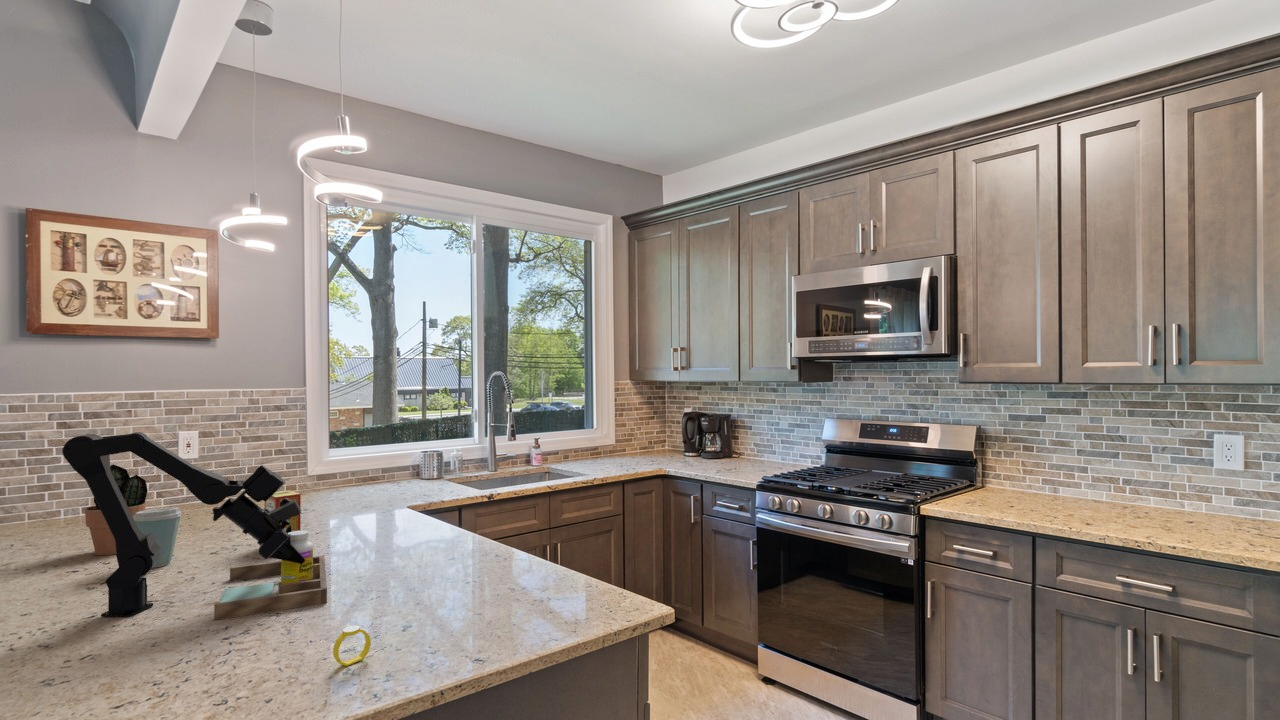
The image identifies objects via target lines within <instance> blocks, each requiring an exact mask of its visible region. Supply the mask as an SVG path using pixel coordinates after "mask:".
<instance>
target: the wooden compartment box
mask: <svg viewBox="0 0 1280 720" xmlns="http://www.w3.org/2000/svg"><path fill="white" fill-rule="evenodd" d="M325 561H326V560H325V555H316V556H313V578H317V579H313V580H309V581H302V582H295V583H288V584H281V583H280V584H278V591H277V592H278V594H273V592H274V587H275V582H267V583H260V584H253V585H252V584H251V585H245V586H237V587H230V588H225V589H224V590H223V593H222V595H221V598H220V601H219V602H217V603H214V605H213V607H214V609H213V611H214V612H213V616H214V617H213V619H214V621H218V620H224V619H231V618H237V617H242V616H243V617H244V616H250V615H255V614H263V613H267V612H268V613H269V612H276V611H282V610H287V609H294V608H300V607H308V606H314V605H320V604H327V603H328V585H327V574H326V572H327V570H326V562H325ZM275 575H281V560H275V561H270V562H269V561H268V562H261V563H254V564H253V563H252V564H246V565H245V564H244V565H237V566H230V567H229V581H238V580H246V579H252V578H260V577H268V576H275Z"/></svg>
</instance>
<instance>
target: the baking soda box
mask: <svg viewBox="0 0 1280 720" xmlns="http://www.w3.org/2000/svg"><path fill="white" fill-rule="evenodd" d="M285 498H288V499H289V500H291V501H292V500H293V499H295V500H296V502H297V504H298V505H299V507H300V509H301V507H302V506H301V505H302V504H301V501H302V500H301V498H302V497H301V493H299V492H295V491H293V490H289V489H288V490H287V489H286V490H281V491H276V492H275V493H274V494H273V495H272V496H271V497H270V498H269V499H268V500H267V501H264V508H265V509H266V508H267V509H268V510H270V511H272V510H274V509H276V508H277V507H280V501H281V500H283V499H285ZM288 520H289V521H290V524H289V525H286V526H285V527H284V528H285V529H287V528H288V527H289V526H290V525H292V532H293V531H301V513H300V514H299V515H297V516H295V517H292V518H290V519H288Z"/></svg>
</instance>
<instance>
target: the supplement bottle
mask: <svg viewBox="0 0 1280 720" xmlns="http://www.w3.org/2000/svg"><path fill="white" fill-rule="evenodd" d="M288 534H291V544H292V545H293V546H294V547H295V549H296V550H297V551H298V552H299V553H300V554H301V555H302V556H303V558H304V559H305V562H304V563H303V564H300V563H295V562H290V561H285V560H280V561H281V574H280V585H281V584H288V583H295V582H302V581H309V580H314V577H313V557H314V545H313V543H312V542H311V541H308V538H309V534H310V533H309V531H308V530H301V529H300V531H293V532H289V533H288Z"/></svg>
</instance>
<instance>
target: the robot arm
mask: <svg viewBox="0 0 1280 720" xmlns="http://www.w3.org/2000/svg"><path fill="white" fill-rule="evenodd" d="M123 453H132V454H134V455H136V456H137V457H139V458H140V459H142V460H144V461H146V462H147V463H149V464H150V465H153V466H154V467H155V468H157V469H159V470H160V471H162V472H164V473H165V474H167V475H169V476H171V477H173V478H174V479H176V480H178V481H179V482H180V483H182V484H183V485H184V487H186V489H187V490H188V491H189V492H190V493H191V494H192V495H194V497H195V498H196V499H198V501H200V502H201V503H203V504H205V505H207V506H208V505H209V506H213V505H217V504H220V503H222V502H223V501H225V500H226V498H228V499H227V500H226V501H225V502H223V503H222V505H220V506H214V507H213V508H212V514H213V518H212V521H213V522H217V521H218V520H219V519H220V518H221V517H223V516H224V517H226V518H227V519H228V520H230V521H231V522H232V523H233V524H235V525H236V526H237V527H239V528H240V529H241V530H242V533H243V534H245V535H247V534H248V535H249V536H250V537H252V538H253V539H254V540H256V541H257V544H258V545H259V546H258V547H259V548H258V551H259V552H258V555H260V556H261V557H262V558H263V559H264V560H267V559H275V560H276V559H277V560H279V561H281V560H285V561H290V562H295V563H300V564H303V563H304V562H305V559H304V558H303V556H302V555H301V554H300V553H299V552H298V551H297V550H296V549H295V547H294V546H293V545H292V544H291V534H288V533H289V532H292V525H290V526H289V527H288V528H287V529H285V528H284V527H285V526H286V525H289V524H290V521H289V520H288V519H290V518H292V517H295V516H297V515H299V514H300V515H301V514H302V509H301V508H300V507H299V505H298V504H297V502H296V500H295V499H293V500H292V501H291V500H289V499H288V498H285V499H283V500H281V501H280V507H277V508H276V509H274V510H272V511H270V510H268V509H267V508H266V509H265V507H264V508H262V507H261V506H259V505H258V504H257V503H259V502H262V501H263V502H265V501H267V500H268V499H269V498H270V497H271V496H272V495H273V494H274V493H275V492H278V490H280V489H281V488H282V487H283V486H284V485H285V484H286V481H285V480H284V478H282V477H281V476H280V475H279V474H277V472H275V471H272V470H271V469H269V468H267V467H266V466H264V465H263V464H260V465H259V466H258V467H257V468H255V471H254V472H253V473H252V474H250V476H249V477H248V478H247V479H245V480H229V479H228V478H227V477H225V476H223V475H220V474H218V473H216V472H213V471H210V470H207V469H204V468H201V467H199V466H195V465H193V463H191V462H189V461H187V460H186V459H184V458H183V457H180V456H179V455H178V454H176V453H174V452H173V451H171V450H169V449H168V448H167V447H164V446H163V445H161V444H160V443H158V442H156V441H154V439H151V438H150V437H149V436H148V435H147V434H146V433H144V432H141V431H136V432H131V433H127V434H118V435H117V434H116V435H108V436H101V435H98V434H96V433H85V434H82V435H78V436H73V437H72V438H70V439H68V440H67V441H66V442H65V444H64V445H63V447H62V456H63V458H64V459H65V460H66V462H67V463H68V464H69V465H70V466H71V468H72V469H73V470H74V471H75V473H77V474H79V476H80V477H81V478H83V479H84V480H85V481H86V483H87V485H88V486H87V487H89V489H90V492H91V493H92V495H93V499H94V498H95V500H96V502H97V504H98V506H99V508H100V510H101V512H102V514H103V516H104V518H105V520H106V522H107V525H108V527H109V529H110V531H111V533H112V535H113V537H114V539H115V545H116V554H115V557H116V560H117V565H118V567H117V568H116V569H115V570H114V571H113V572H112V573H111V574H110V575H109V576H108V577H107V578H106V579H105V584H106V586H107V588H108V592H107V593H108V597H107V599H108V601H107V602H108V603H107V605H108V606H107V607H108V609H107V611H105V612H102V613H101V614H100V617H132V616H134V615H136V614H138V613H141V612H143V611H145V610H147V609H149V608H152V607H153V606H154V603H153V602H149V603H148V584H147V577H145V576H146V575H147V574H148V573H149V572H150V571H152V569H153V568H152V567H153V566H154V565H155V564H156V562H157V560H158V558H159V552H158V551H159V550H160V548H161V547H160V546H158V545H157V543H156V541H155V537H154V534H153V533H150V534H148V535H147V536H146V535H144V534H143V533H142V532H141V531H140V530H139V529H138V527H137V525H136V523H135V521H134V519H133V517H132V514H131V512H130V510H129V508H128V506H127V504H126V502H125V500H124V498H123V496H122V494H121V492H120V490H119V487H118V485H117V483H116V481H115V479H114V477H113V475H112V473H111V469H110V466H111V457H110V455H116V454H123ZM242 490H243V491H242ZM240 492H241V493H240ZM239 493H240V494H239ZM238 494H239V495H238ZM233 496H236V498H233ZM254 501H255V502H254ZM256 502H257V503H256Z"/></svg>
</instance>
